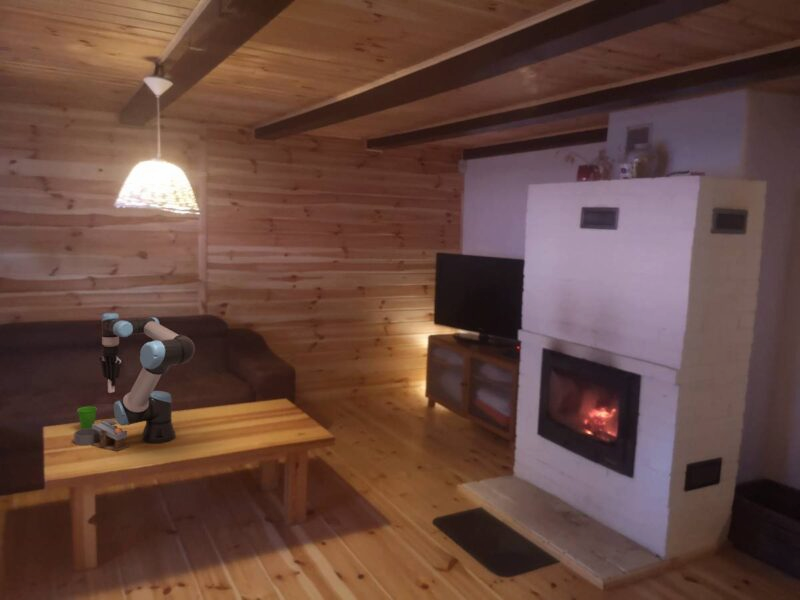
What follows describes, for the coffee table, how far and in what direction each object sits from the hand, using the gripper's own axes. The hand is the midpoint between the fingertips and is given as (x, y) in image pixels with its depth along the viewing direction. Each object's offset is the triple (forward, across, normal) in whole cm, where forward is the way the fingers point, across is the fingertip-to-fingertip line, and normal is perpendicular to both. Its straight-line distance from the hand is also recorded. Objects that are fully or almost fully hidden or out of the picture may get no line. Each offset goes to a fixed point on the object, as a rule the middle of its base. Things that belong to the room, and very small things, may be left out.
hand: (111, 391), depth 310 cm
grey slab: (+15, -12, +10) cm, 21 cm away
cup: (+21, +14, +2) cm, 26 cm away
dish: (+21, +1, +13) cm, 25 cm away
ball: (+13, -18, +13) cm, 26 cm away
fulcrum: (+21, -12, +13) cm, 28 cm away
